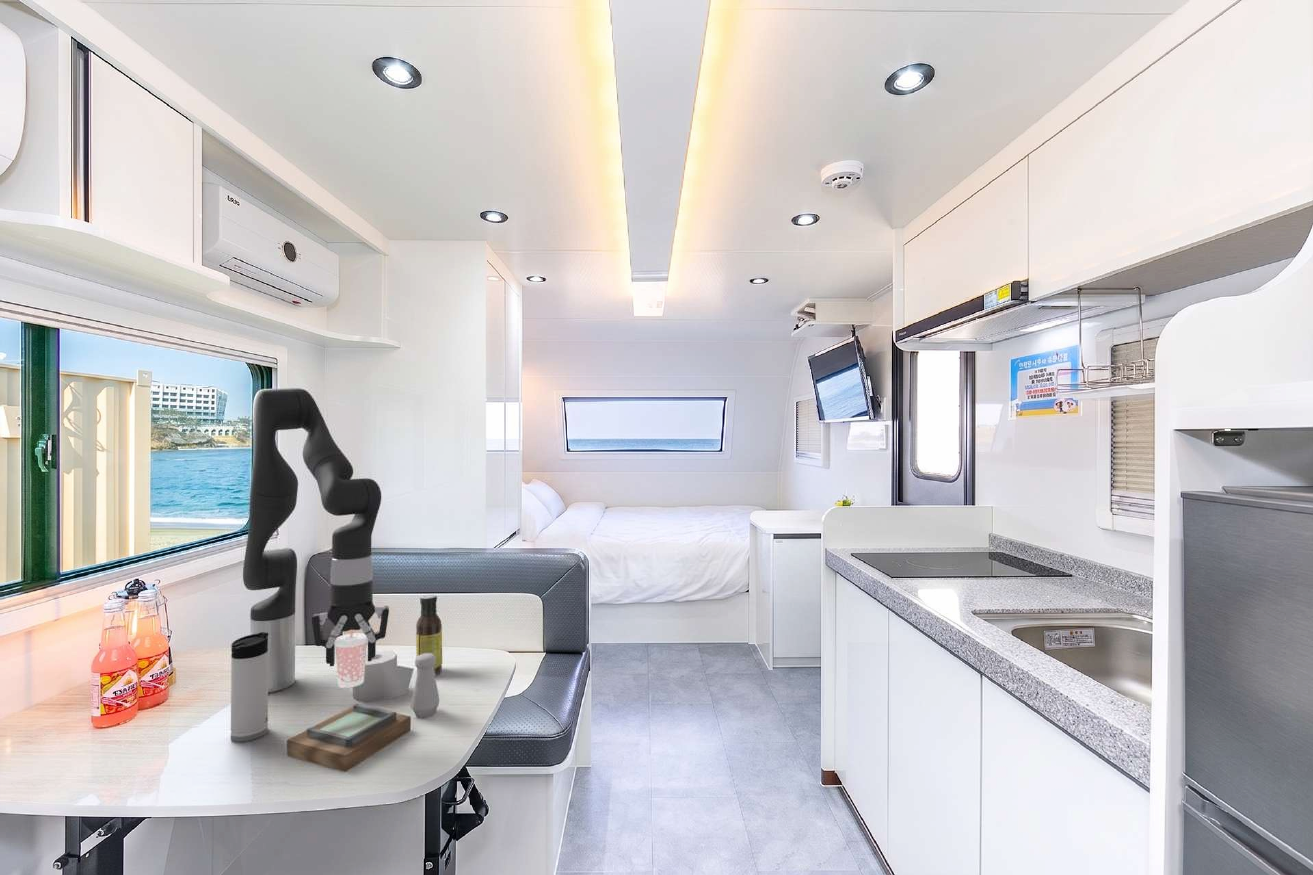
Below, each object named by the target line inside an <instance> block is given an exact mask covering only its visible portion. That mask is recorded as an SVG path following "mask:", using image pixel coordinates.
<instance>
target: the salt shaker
mask: <svg viewBox="0 0 1313 875" xmlns="http://www.w3.org/2000/svg"><path fill="white" fill-rule="evenodd" d="M435 663H436V656H435V655H434V654H432V653H425V654H421V655H419V656H417V657H416V656H415V660H414V666H415V668H418V672H417V671H416V679H415V685H414V689H413V695H412V699H411V704H410V706H411V709H412V711H413V713H414V715H415V718H418V719H419V718H420V719H425V718H426V719H427V718H429V717H432V716H434V714H435V713H436V712H437V708H438V707H439V704H440V696H439V690H438V685H437V680H436V675H435V673H434V667H433V666H434V665H435Z"/></svg>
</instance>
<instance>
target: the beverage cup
mask: <svg viewBox="0 0 1313 875" xmlns="http://www.w3.org/2000/svg"><path fill="white" fill-rule="evenodd" d="M353 632H354V630H349V633H347V634H343V635H340V636H339V635H338V637H337V638H336V640H335V642H334V645H335V658H336V659H335V660H336V674H337V676H336V677H337V686H338V687H339V688H342V689H343V688H344V689H347V688H353V687H355V686H358V685H360V684H362V683H363V682H364V673H365V659H366V652H367V646H368V638H367V637H366V635H365V634H364V632H363V633H361V632H357V633H356V632H355V633H353Z"/></svg>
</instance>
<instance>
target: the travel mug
mask: <svg viewBox="0 0 1313 875" xmlns="http://www.w3.org/2000/svg"><path fill="white" fill-rule="evenodd" d="M267 646H268V633H265V632H260V633H259V634H252V635H250V634H248V635H245V636H242V637H239V638H238V639H236V640H234V641H233V642H232V643H231V647H230V648H231V655H230V659H231V660H230V739H231V741H233V742H235V743H244V742H250V741H253V740H256V739H259V738H260V737H262V736H264V735H265V734H266V733H267V732H268V730H269V724H268V722H269V719H268V718H269V693H268V647H267Z"/></svg>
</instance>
